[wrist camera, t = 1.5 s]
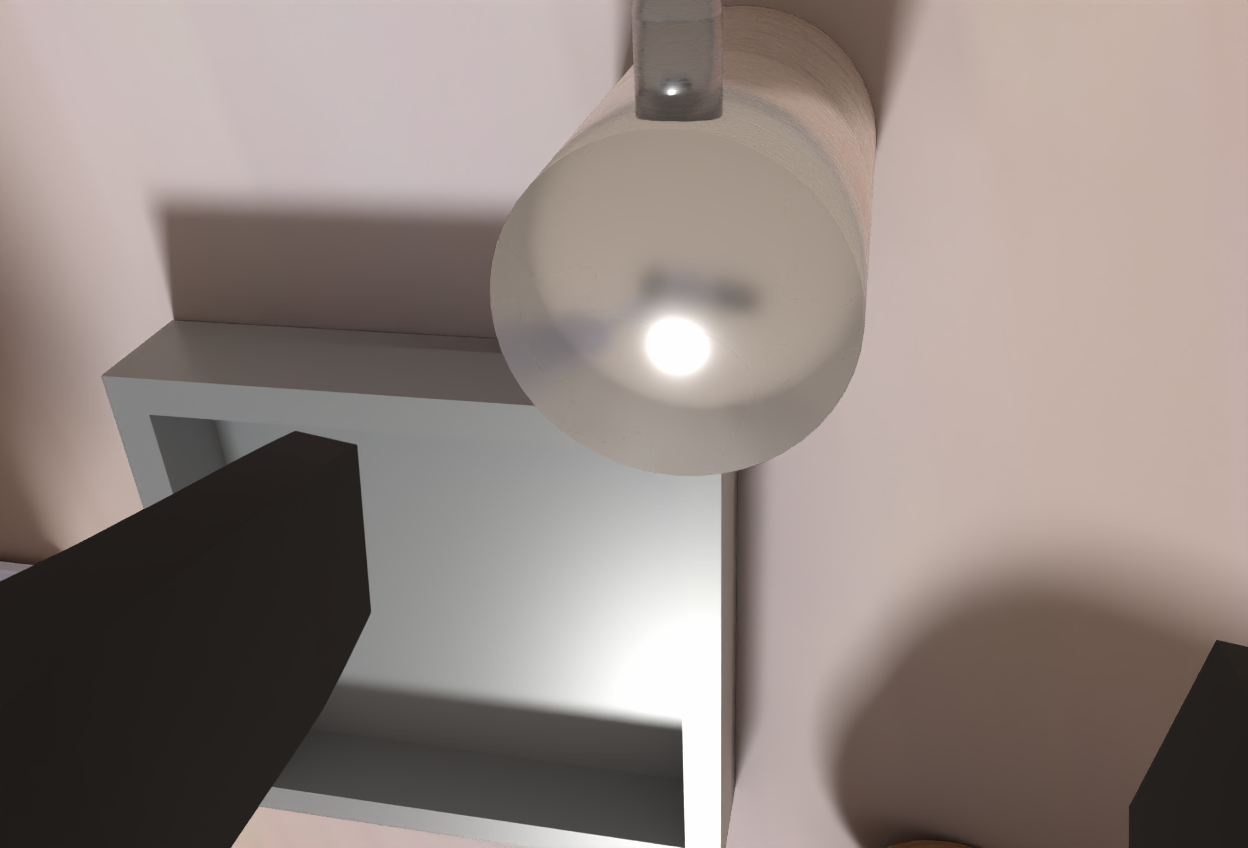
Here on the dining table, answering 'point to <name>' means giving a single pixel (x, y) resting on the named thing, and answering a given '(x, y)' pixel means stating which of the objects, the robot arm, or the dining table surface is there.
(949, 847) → the tin
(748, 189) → the handled mug
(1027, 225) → the dining table surface
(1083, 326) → the dining table surface
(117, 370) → the parts tray
